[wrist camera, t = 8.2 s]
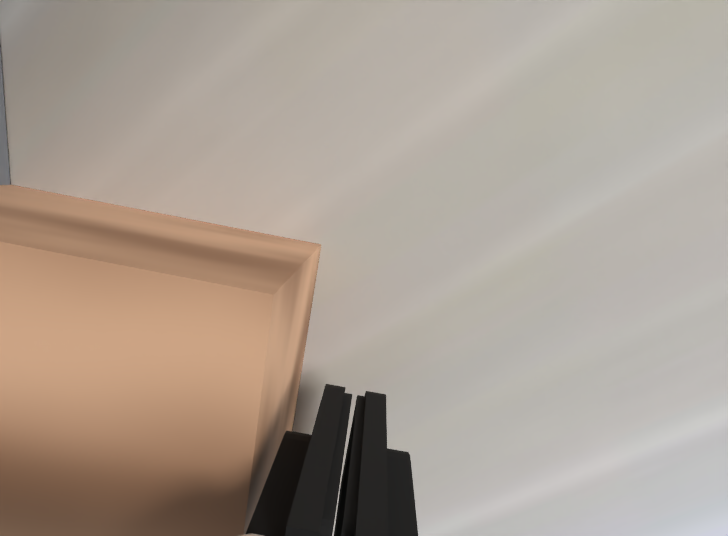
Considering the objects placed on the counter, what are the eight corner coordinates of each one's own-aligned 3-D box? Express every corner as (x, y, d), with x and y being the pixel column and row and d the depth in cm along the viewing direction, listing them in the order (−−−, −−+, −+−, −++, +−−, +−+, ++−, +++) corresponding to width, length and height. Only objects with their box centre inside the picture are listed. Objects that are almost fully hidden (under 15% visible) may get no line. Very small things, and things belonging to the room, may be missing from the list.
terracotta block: (14, 184, 11) (-275, 188, 6) (321, 244, 11) (274, 294, 6) (31, 443, 14) (-165, 589, 9) (282, 492, 13) (226, 667, 9)
